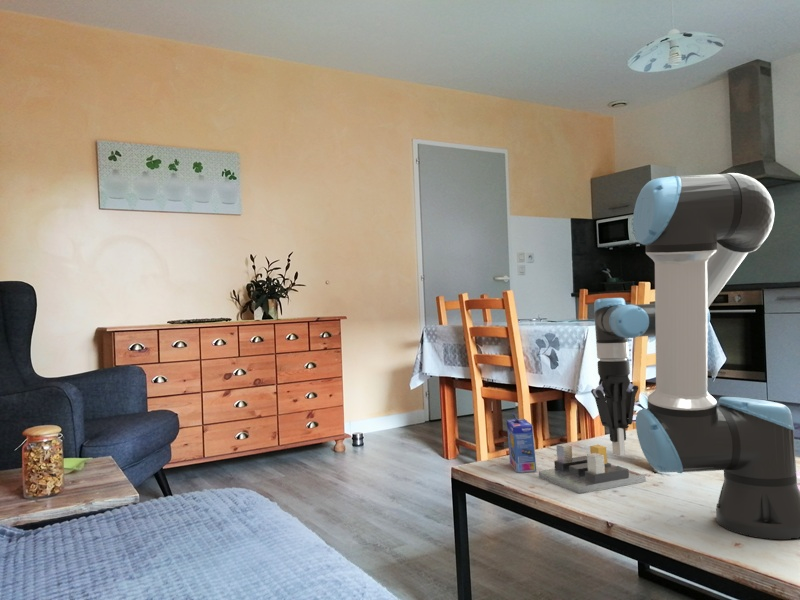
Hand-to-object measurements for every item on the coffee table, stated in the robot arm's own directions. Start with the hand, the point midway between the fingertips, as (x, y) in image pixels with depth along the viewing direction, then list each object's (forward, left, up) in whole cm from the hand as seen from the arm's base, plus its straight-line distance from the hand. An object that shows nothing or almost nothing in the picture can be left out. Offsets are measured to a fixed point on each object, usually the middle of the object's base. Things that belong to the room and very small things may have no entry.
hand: (619, 454), depth 148 cm
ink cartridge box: (+18, +17, -5) cm, 25 cm away
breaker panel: (0, +9, -5) cm, 10 cm away
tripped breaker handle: (0, +6, -1) cm, 6 cm away
